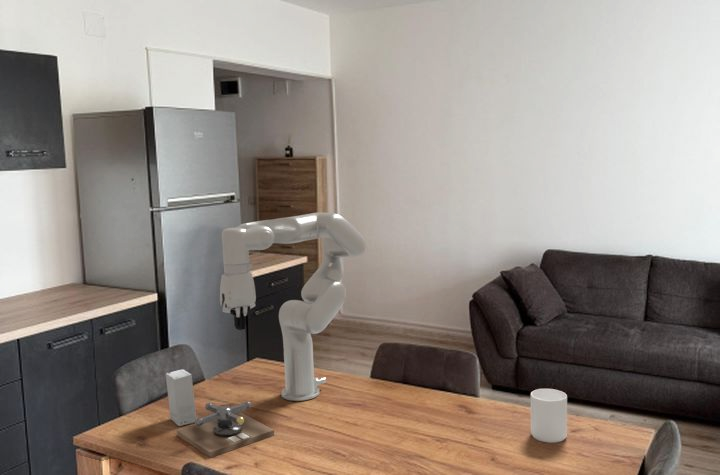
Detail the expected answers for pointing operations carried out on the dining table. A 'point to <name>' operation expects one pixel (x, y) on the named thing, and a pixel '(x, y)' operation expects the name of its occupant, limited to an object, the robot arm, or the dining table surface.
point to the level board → (218, 445)
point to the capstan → (224, 419)
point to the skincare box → (181, 397)
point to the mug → (549, 415)
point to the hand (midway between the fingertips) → (240, 328)
